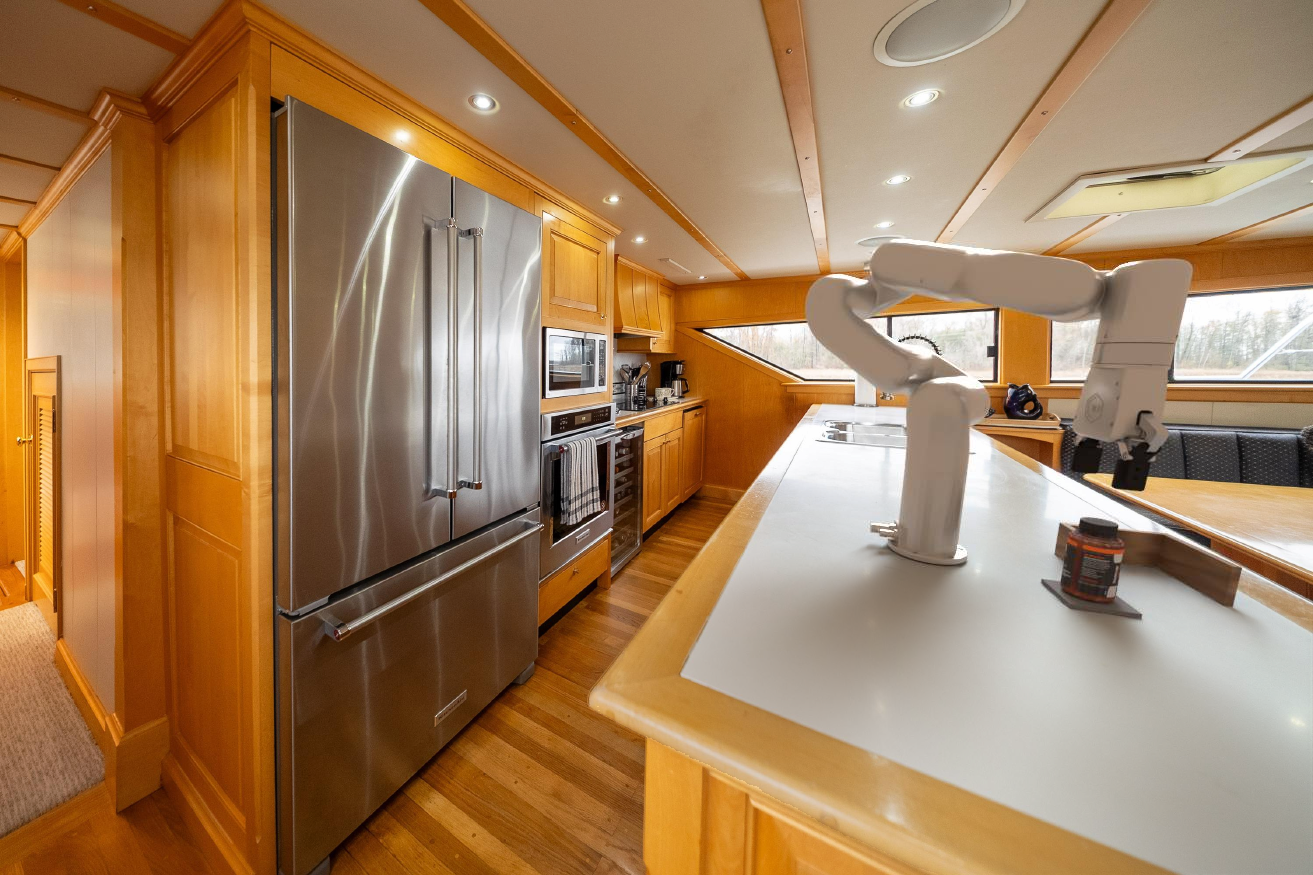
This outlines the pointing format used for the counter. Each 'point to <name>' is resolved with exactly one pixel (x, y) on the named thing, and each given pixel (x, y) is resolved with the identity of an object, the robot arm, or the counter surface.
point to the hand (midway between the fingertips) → (1103, 480)
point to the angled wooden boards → (1172, 561)
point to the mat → (1091, 602)
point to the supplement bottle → (1093, 560)
